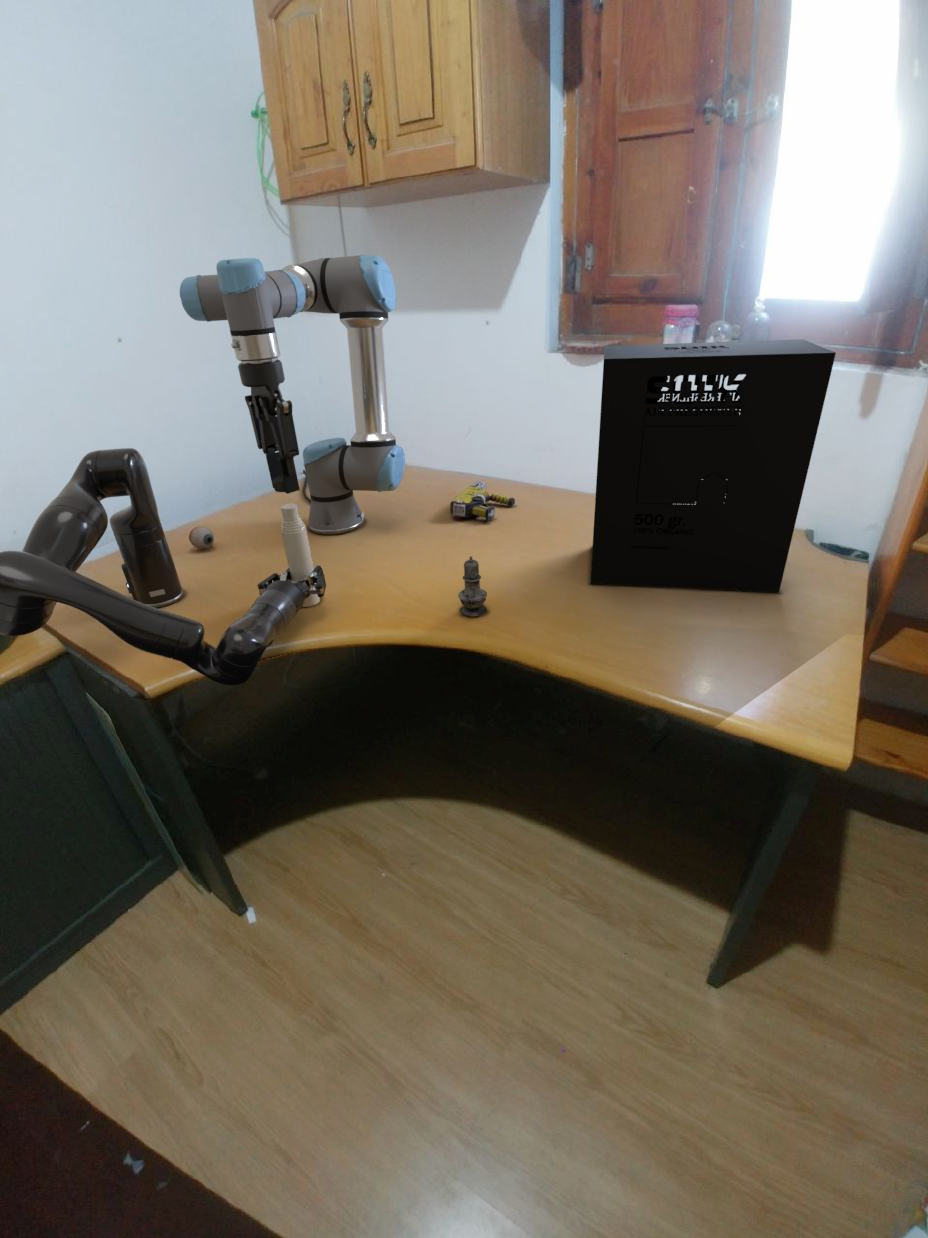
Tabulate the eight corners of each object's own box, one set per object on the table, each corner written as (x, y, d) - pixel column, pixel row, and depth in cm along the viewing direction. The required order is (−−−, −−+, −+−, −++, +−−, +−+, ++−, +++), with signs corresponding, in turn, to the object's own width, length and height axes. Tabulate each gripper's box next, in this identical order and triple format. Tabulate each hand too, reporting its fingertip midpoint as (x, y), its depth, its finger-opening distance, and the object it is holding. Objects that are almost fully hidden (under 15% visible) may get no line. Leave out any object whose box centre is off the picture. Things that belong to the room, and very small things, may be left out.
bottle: (314, 594, 133) (296, 500, 122) (323, 602, 130) (305, 506, 119) (293, 600, 131) (272, 505, 120) (301, 609, 127) (281, 512, 116)
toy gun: (523, 485, 181) (476, 478, 185) (501, 509, 161) (448, 500, 165) (521, 500, 184) (475, 493, 187) (499, 525, 163) (447, 517, 167)
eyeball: (203, 554, 156) (196, 532, 153) (187, 550, 159) (181, 528, 156) (222, 546, 160) (216, 524, 157) (206, 542, 163) (200, 521, 160)
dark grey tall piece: (485, 617, 120) (483, 562, 114) (456, 616, 121) (452, 561, 115) (490, 603, 125) (488, 550, 119) (462, 602, 126) (459, 549, 120)
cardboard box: (758, 552, 140) (802, 339, 117) (778, 592, 123) (835, 352, 100) (592, 546, 147) (604, 345, 125) (590, 583, 130) (603, 358, 108)
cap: (277, 485, 120) (275, 475, 119) (299, 484, 120) (297, 474, 119) (272, 493, 116) (269, 482, 115) (295, 491, 116) (292, 481, 115)
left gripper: (245, 623, 118) (279, 584, 132) (315, 625, 116) (342, 585, 130) (236, 589, 114) (272, 553, 128) (308, 590, 112) (336, 553, 126)
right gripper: (217, 360, 109) (248, 485, 121) (263, 366, 98) (291, 503, 110) (255, 354, 114) (281, 476, 126) (303, 360, 103) (326, 492, 115)
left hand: (307, 569), depth 129 cm, fingers closed on bottle, 5 cm apart
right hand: (286, 488), depth 118 cm, fingers closed on cap, 4 cm apart
